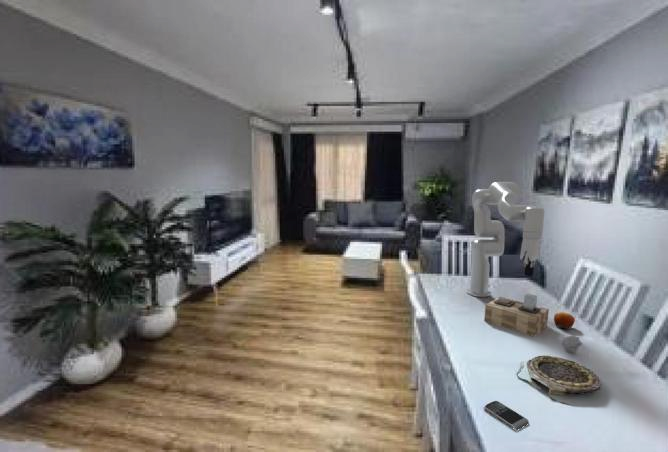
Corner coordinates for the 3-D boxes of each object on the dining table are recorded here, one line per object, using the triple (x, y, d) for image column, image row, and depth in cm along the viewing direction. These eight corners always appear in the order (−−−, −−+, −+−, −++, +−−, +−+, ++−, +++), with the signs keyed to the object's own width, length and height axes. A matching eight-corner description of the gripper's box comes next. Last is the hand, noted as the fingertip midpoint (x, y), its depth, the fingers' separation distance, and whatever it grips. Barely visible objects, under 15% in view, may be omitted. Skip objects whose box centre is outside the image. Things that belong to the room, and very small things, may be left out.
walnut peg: (500, 316, 177) (502, 299, 176) (509, 319, 174) (510, 301, 173) (497, 318, 174) (498, 301, 173) (505, 321, 172) (507, 303, 170)
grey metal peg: (525, 312, 168) (527, 293, 167) (535, 314, 166) (537, 295, 164) (522, 314, 166) (524, 295, 164) (532, 316, 163) (534, 297, 161)
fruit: (554, 326, 164) (555, 309, 166) (552, 329, 170) (553, 312, 173) (575, 330, 160) (576, 312, 163) (573, 333, 166) (573, 316, 169)
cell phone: (495, 403, 112) (495, 399, 112) (529, 425, 102) (530, 420, 102) (481, 409, 109) (482, 405, 109) (516, 433, 99) (516, 428, 99)
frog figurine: (572, 357, 140) (574, 340, 138) (556, 348, 146) (558, 332, 145) (584, 355, 141) (586, 338, 140) (568, 347, 148) (570, 330, 147)
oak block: (498, 312, 184) (499, 295, 182) (546, 325, 168) (548, 307, 167) (484, 320, 173) (485, 302, 172) (534, 336, 157) (536, 316, 156)
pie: (526, 353, 143) (528, 341, 142) (614, 380, 126) (616, 367, 125) (507, 385, 121) (509, 371, 120) (610, 423, 104) (612, 407, 104)
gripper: (529, 232, 169) (526, 271, 172) (516, 235, 159) (513, 276, 162) (547, 234, 164) (543, 274, 166) (535, 237, 154) (531, 280, 156)
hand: (528, 275), depth 164 cm, fingers closed
